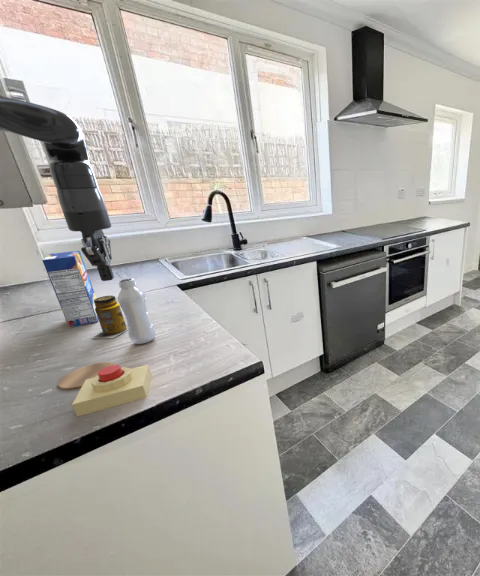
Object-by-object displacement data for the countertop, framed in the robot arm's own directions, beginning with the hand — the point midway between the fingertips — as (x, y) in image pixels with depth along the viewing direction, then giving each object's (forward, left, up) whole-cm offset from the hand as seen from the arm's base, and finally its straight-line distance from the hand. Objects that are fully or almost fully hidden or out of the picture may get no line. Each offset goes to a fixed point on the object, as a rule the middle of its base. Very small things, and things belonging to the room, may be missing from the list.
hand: (108, 279), depth 77 cm
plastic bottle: (+1, +13, -24) cm, 27 cm away
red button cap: (-1, -15, -19) cm, 24 cm away
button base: (-1, -15, -24) cm, 28 cm away
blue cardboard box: (-20, +45, -24) cm, 55 cm away
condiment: (-9, +26, -24) cm, 37 cm away
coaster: (-9, -2, -24) cm, 26 cm away
